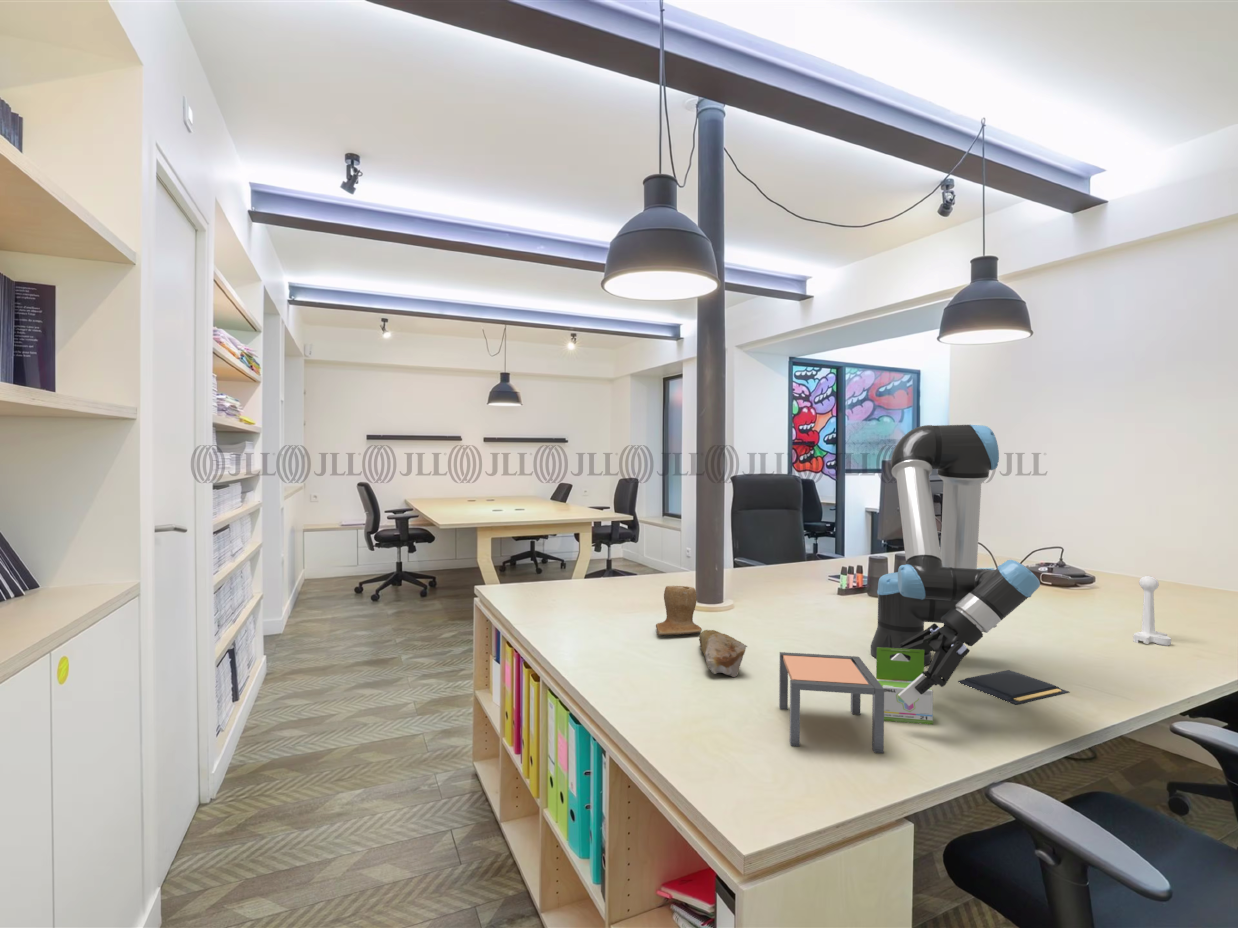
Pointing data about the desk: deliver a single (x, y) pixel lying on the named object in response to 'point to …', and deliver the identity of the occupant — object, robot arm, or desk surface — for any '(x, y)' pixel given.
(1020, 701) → the wallet
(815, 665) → the trapdoor
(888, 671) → the ink box
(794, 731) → the stand
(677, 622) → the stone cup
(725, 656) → the mineral
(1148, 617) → the joystick
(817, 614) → the desk surface
